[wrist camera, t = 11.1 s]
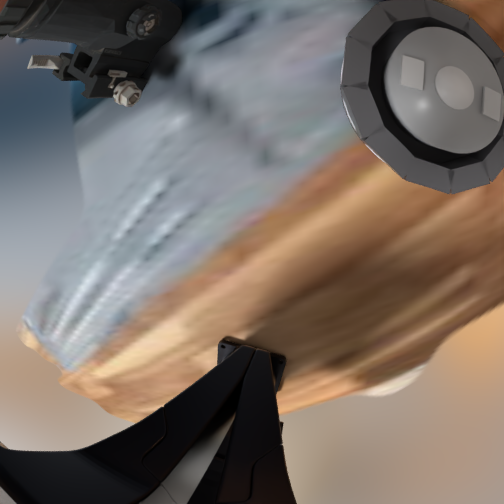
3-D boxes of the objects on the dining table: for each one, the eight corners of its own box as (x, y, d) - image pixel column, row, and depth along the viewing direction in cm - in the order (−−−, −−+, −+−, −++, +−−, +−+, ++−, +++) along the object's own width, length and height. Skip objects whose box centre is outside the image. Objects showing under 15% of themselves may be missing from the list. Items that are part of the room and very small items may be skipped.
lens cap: (471, 160, 12) (498, 170, 9) (375, 131, 13) (385, 132, 10) (480, 63, 9) (507, 55, 6) (383, 29, 10) (394, 9, 7)
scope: (-50, 81, 6) (20, -74, 1) (93, 70, 18) (152, -26, 13) (-22, 137, 6) (86, -94, 2) (152, 110, 18) (228, 1, 14)
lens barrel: (467, 191, 15) (501, 215, 11) (329, 152, 17) (328, 162, 12) (485, 57, 10) (522, 46, 6) (346, 10, 12) (349, -24, 8)
